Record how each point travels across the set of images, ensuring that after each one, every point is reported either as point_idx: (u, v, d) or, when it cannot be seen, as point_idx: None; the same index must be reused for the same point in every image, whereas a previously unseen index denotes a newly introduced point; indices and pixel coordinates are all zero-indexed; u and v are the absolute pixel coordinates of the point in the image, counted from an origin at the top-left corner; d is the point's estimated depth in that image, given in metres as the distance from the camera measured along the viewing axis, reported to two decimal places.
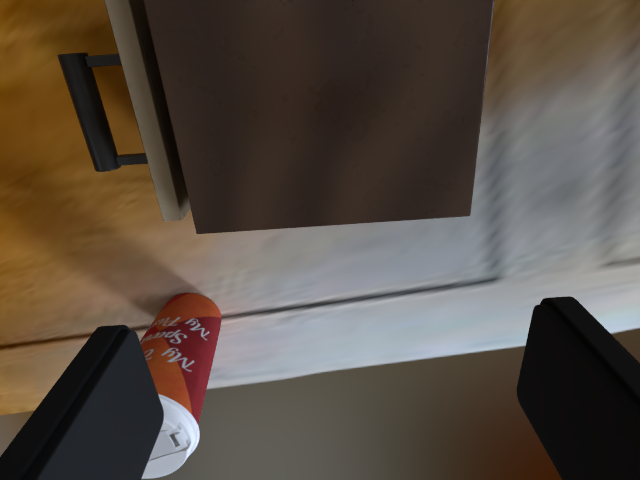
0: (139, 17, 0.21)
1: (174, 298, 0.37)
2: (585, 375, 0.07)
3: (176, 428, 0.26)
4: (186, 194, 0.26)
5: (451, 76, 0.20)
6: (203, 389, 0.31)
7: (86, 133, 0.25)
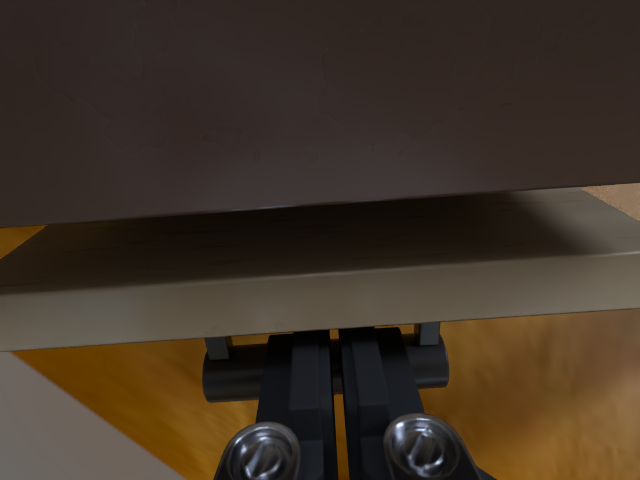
0: (47, 268, 0.07)
1: None
2: (340, 343, 0.08)
3: None
4: (566, 211, 0.08)
5: None
6: None
7: None
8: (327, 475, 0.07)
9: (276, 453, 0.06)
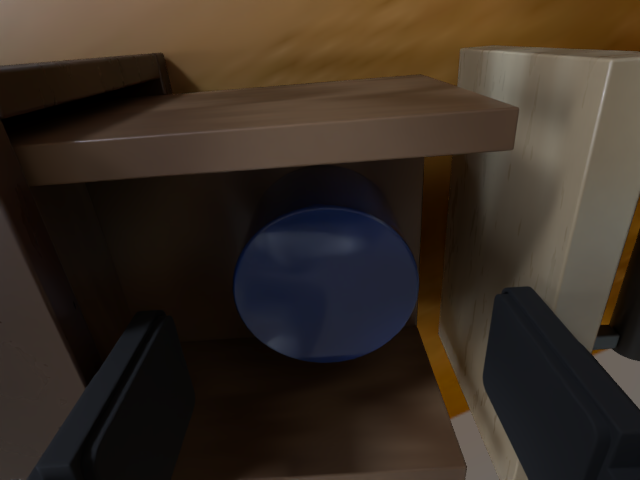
0: (501, 448, 0.12)
1: None
2: (534, 358, 0.08)
3: None
4: (546, 108, 0.09)
5: None
6: None
7: None
8: None
9: None
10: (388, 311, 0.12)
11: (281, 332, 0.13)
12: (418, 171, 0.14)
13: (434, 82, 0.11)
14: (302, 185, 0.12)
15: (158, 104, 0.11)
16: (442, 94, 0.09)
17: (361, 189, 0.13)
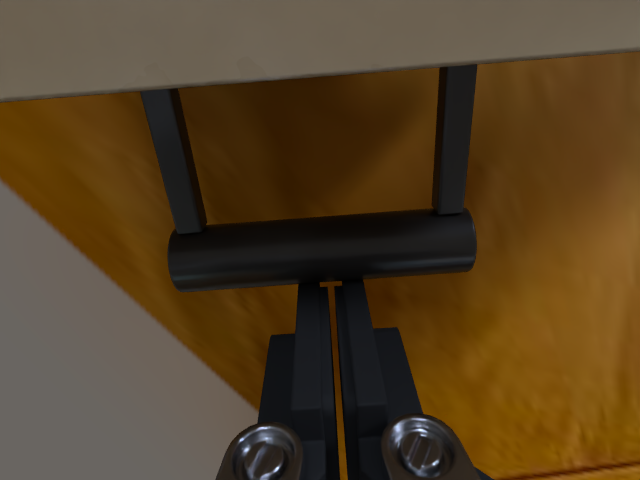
0: None
1: None
2: None
3: None
4: None
5: None
6: None
7: (366, 272, 0.09)
8: (329, 475, 0.07)
9: (278, 453, 0.06)
10: None
11: None
12: None
13: None
14: None
15: None
16: None
17: None
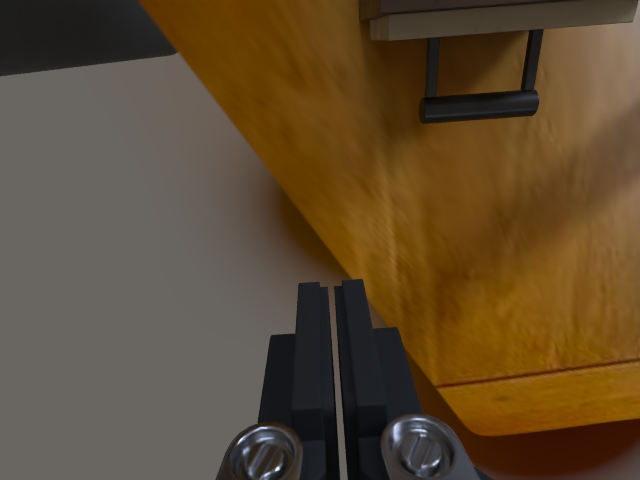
0: None
1: None
2: None
3: None
4: None
5: None
6: None
7: (497, 112, 0.25)
8: (329, 475, 0.07)
9: (278, 453, 0.06)
10: None
11: None
12: None
13: None
14: None
15: None
16: None
17: None
